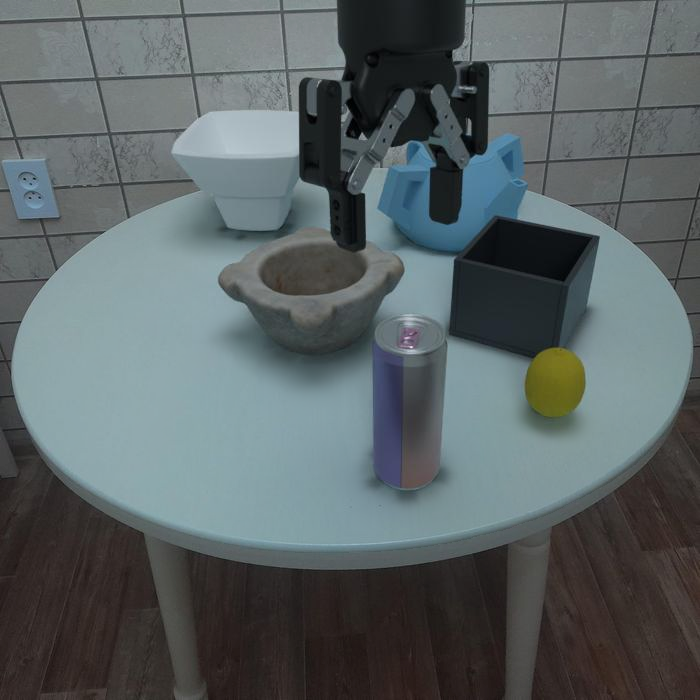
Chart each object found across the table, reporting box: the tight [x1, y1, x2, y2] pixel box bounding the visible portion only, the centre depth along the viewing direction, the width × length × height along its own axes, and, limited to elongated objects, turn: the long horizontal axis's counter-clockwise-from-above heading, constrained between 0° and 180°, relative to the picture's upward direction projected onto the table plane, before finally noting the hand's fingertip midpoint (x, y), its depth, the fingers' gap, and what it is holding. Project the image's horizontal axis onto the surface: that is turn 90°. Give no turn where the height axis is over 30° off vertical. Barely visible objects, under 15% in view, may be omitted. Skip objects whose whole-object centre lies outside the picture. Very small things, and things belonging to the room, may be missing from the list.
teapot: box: [376, 132, 529, 253], centre depth 101 cm, size 19×19×14 cm
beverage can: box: [371, 313, 448, 491], centre depth 61 cm, size 6×6×15 cm
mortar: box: [217, 226, 406, 355], centre depth 81 cm, size 17×17×9 cm
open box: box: [448, 215, 601, 359], centre depth 82 cm, size 12×12×10 cm
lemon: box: [524, 348, 587, 419], centre depth 69 cm, size 6×6×8 cm
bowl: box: [170, 109, 300, 232], centre depth 104 cm, size 19×19×14 cm
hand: (399, 234), depth 48 cm, fingers open, 8 cm apart
